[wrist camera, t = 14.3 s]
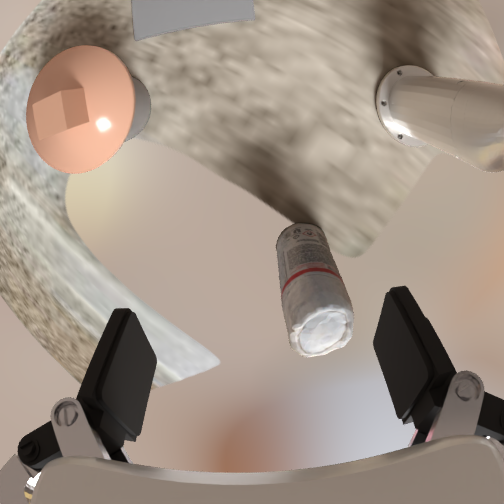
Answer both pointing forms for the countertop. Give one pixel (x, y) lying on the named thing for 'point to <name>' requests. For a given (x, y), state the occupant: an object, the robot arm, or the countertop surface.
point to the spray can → (312, 292)
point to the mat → (185, 15)
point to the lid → (80, 108)
